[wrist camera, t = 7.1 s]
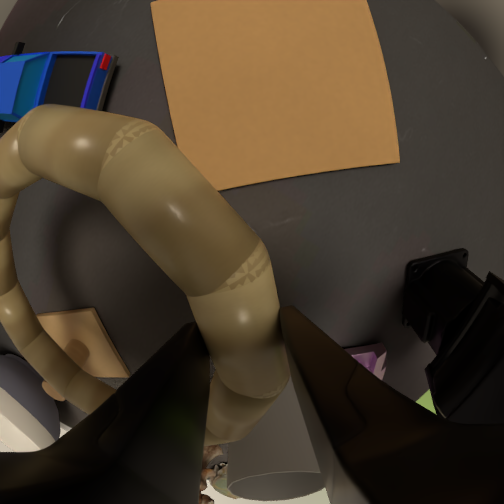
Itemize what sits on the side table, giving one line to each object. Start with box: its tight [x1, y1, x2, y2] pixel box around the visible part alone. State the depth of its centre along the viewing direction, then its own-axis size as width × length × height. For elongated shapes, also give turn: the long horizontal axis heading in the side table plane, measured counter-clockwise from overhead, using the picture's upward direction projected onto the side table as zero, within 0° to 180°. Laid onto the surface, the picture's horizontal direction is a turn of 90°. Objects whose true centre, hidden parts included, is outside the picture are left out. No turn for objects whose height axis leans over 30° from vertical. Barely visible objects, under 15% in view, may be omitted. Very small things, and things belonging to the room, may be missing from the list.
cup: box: [227, 376, 325, 501], centre depth 22 cm, size 8×8×10 cm
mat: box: [151, 0, 400, 191], centre depth 15 cm, size 14×14×1 cm
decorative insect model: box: [208, 463, 241, 499], centre depth 32 cm, size 9×11×5 cm
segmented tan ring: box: [0, 104, 290, 446], centre depth 10 cm, size 17×17×2 cm
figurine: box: [199, 444, 223, 504], centre depth 23 cm, size 7×6×15 cm
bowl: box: [0, 354, 60, 452], centre depth 22 cm, size 16×16×10 cm
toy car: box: [0, 42, 119, 133], centre depth 12 cm, size 7×12×5 cm, turn 72°
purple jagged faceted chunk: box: [344, 343, 387, 380], centre depth 22 cm, size 8×7×6 cm
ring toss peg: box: [36, 307, 130, 401], centre depth 20 cm, size 8×8×7 cm
